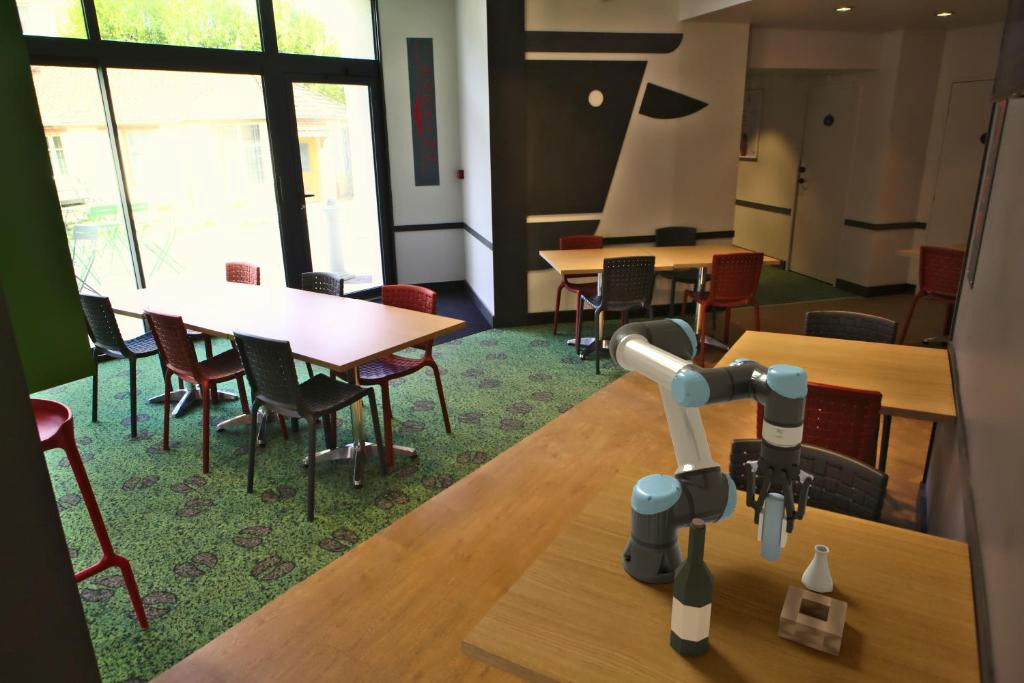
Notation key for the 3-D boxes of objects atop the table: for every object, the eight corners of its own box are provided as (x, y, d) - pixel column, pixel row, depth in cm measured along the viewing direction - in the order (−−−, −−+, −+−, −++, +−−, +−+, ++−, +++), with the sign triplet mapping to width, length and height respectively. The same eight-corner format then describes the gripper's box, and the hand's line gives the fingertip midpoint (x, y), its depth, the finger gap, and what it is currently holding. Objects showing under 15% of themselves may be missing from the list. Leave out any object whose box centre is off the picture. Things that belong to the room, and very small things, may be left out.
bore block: (777, 635, 141) (780, 616, 139) (787, 603, 151) (789, 585, 149) (838, 656, 135) (841, 637, 133) (844, 621, 145) (847, 602, 143)
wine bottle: (679, 624, 145) (687, 506, 136) (715, 641, 140) (726, 519, 131) (662, 645, 139) (669, 523, 130) (698, 664, 134) (709, 538, 125)
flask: (837, 595, 153) (842, 559, 150) (804, 591, 154) (809, 556, 152) (829, 576, 160) (834, 541, 157) (797, 573, 161) (802, 538, 158)
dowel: (758, 557, 139) (763, 499, 135) (762, 548, 142) (768, 491, 138) (777, 563, 137) (783, 504, 133) (782, 554, 140) (787, 495, 136)
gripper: (733, 437, 134) (726, 537, 140) (823, 456, 125) (811, 562, 131) (743, 425, 140) (736, 521, 146) (830, 442, 131) (818, 544, 137)
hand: (771, 540), depth 138 cm, fingers closed on dowel, 4 cm apart
